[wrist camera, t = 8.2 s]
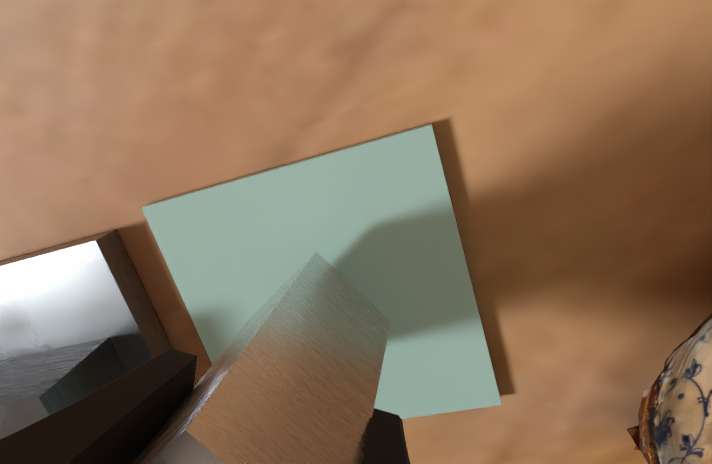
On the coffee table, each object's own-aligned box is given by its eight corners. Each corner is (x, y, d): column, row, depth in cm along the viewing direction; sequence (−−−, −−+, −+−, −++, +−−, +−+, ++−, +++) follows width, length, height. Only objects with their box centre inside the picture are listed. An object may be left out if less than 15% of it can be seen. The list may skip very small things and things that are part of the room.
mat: (500, 396, 15) (501, 404, 15) (250, 432, 17) (246, 440, 17) (431, 123, 13) (431, 124, 12) (148, 203, 15) (141, 207, 14)
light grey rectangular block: (390, 321, 13) (342, 566, 6) (323, 379, 14) (219, 647, 7) (316, 251, 13) (186, 429, 6) (252, 314, 14) (78, 530, 7)
